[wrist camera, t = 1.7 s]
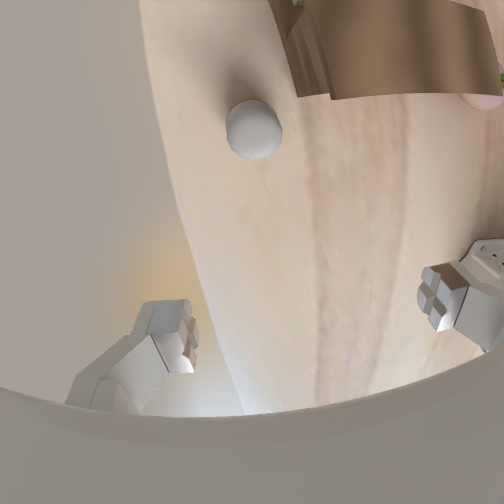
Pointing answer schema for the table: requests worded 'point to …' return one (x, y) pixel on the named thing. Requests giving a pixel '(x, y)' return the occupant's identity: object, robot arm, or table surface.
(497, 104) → the decorative fruit
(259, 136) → the salt shaker
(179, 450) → the robot arm
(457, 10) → the wooden stand
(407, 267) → the table surface
